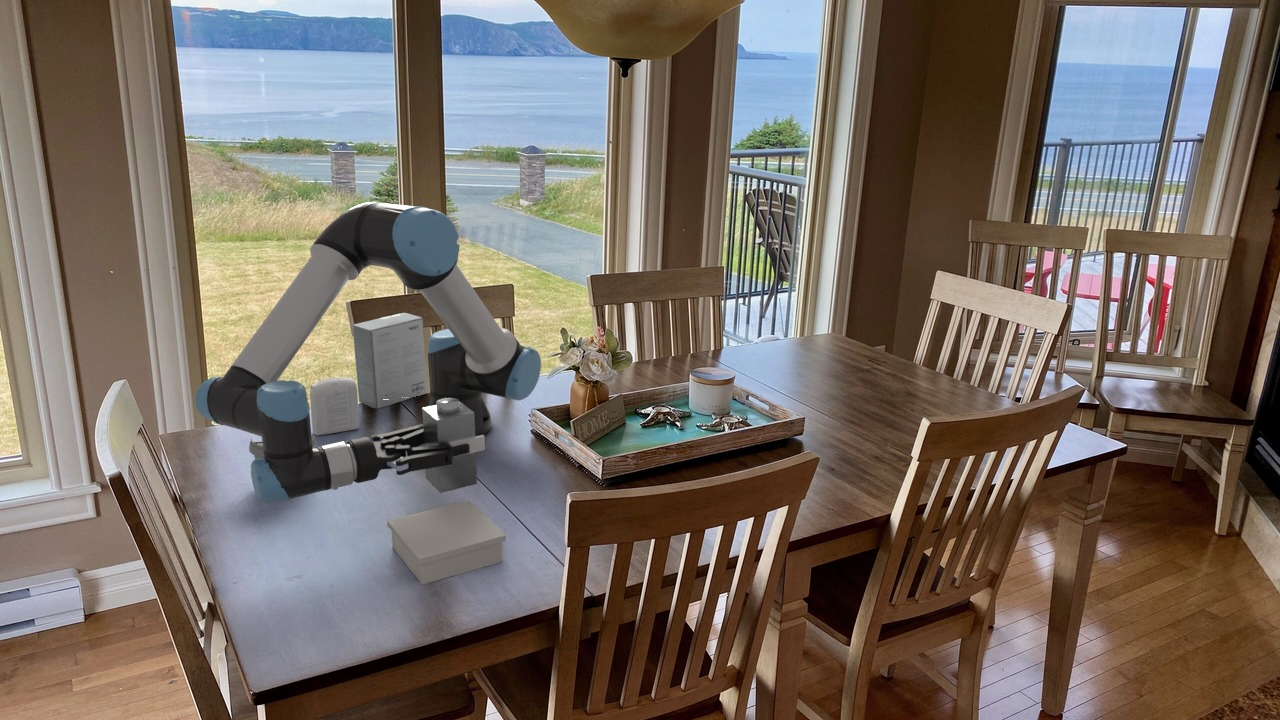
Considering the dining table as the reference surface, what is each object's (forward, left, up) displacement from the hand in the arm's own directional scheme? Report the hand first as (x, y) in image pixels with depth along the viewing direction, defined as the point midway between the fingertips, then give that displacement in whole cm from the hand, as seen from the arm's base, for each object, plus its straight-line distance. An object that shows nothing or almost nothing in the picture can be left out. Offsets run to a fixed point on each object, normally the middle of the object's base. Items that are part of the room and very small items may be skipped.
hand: (474, 435), depth 168 cm
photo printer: (+12, -50, -15) cm, 53 cm away
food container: (+29, -25, -15) cm, 41 cm away
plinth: (+12, +14, -14) cm, 23 cm away
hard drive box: (-6, -64, -15) cm, 66 cm away
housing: (+5, 0, -8) cm, 9 cm away
